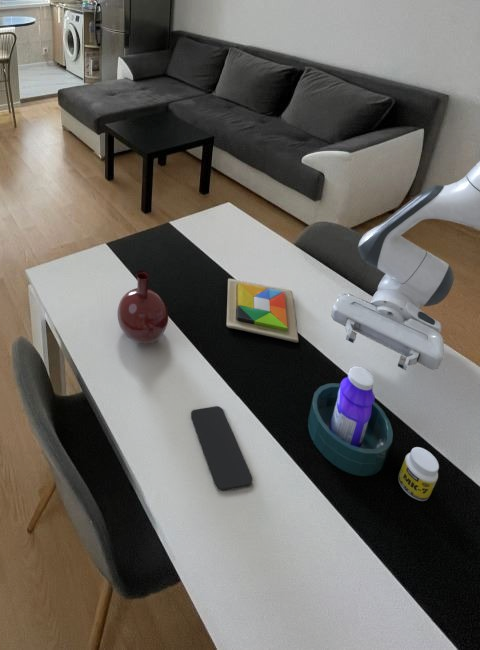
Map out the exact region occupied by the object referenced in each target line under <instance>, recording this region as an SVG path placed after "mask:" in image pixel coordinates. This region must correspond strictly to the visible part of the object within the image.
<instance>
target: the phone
mask: <svg viewBox="0 0 480 650" xmlns="http://www.w3.org/2000/svg"><path fill="white" fill-rule="evenodd" d="M226 415H227V414H226V413H225V411H224V409H223V408H222V407H221V406H218V405H215V406H209V407H203V408H197V409H193V410H191V412H190V418H191V421H193V422H192V424H193V427H194V430H195V433H196V435H198V436H197V438H198V442H199V443H200V447H201V446H202V447H201V449H203V450H202V452H203V455H204V458H205V460H206V463H207V466H208V469H209V472H210V474H211V477H212V480H213V483H214V486H215V487H216V488H217V490H218V491H221V492H224V491H229V490H236V489H242V488H247V487H250V486H252V484H253V476H252V473H251V471H250V469H249V466H248V464H247V461H246V459H245V457H244V455H243V453H242V449H241V447H240V445H239V443H238V441H237V438H236V436H235V434H234V432H233V429H232V427H231V425H230V422H229V420H228V418H227V416H226Z"/></svg>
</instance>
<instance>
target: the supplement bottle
mask: <svg viewBox="0 0 480 650" xmlns="http://www.w3.org/2000/svg"><path fill="white" fill-rule="evenodd" d="M439 469H440V464H439V461H438V460H437V458H436V457H435V456H434V454H432V453H431V452H430V451H429V450H427V449H425V448H424V447H419V446H416V447H415V446H414V447H413V448H412V449H411V450H410V452H408V453H407V454H406V455H405V457H404V460H403V462H402V465H401V468H400V470H399V472H398V476H397V478H398V479H397V480H398V483H399V485H400V487H401V489H402V490H403V491H404V492H405V493H406V494H407V495H408V496H409V497H411V498H412V499H415V500H417V501H420V502H424V501H425V502H426V501H427V500H428V499H429V498H430V497H431V494H432V492H433V490H434V488H435V486H436V484H437V481H438V479H439Z"/></svg>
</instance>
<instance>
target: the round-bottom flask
mask: <svg viewBox="0 0 480 650" xmlns="http://www.w3.org/2000/svg"><path fill="white" fill-rule="evenodd" d="M149 277H150V273H149V272H148V271H147V270H142V269H141V270H138V271H137V272H136V279H137V281H136V282H137V283H136V284H137V287H135V288H132V289H130V290H129V291H127V292H126V293H125V294H123V296H122V297H121V299H120V300H119V303H118V306H117V312H116V313H117V321H118V324H119V327H120V329H121V331H122V332H123V334H124V335H125V336H126V337H127V338H129V339H130V340H131V341H133V342H136V343H138V344H150V343H154V342H155V341H157V340H159V339H160V338H162V337H161V336H163V335H164V333H165V331H166V330H167V326H168V324H169V311H168V307H167V305H166V302H165V301H164V299H163V298H162V297H161V296H160V294H159V293H157V292H156V291H154V290H152V289H150V288H149Z"/></svg>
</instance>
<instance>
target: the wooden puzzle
mask: <svg viewBox="0 0 480 650" xmlns="http://www.w3.org/2000/svg"><path fill="white" fill-rule="evenodd" d="M226 299H227V300H226V301H227V303H226V327H227V328H228V329H233V330H238V331H243V332H247V333H251V334H257V335H261V336H265V337H270V338H274V339H279V340H283V341H288V342H292V343H299V335H298V327H297V320H296V319H297V318H296V311H295V304H294V303H295V302H294V296H293V291H292V290H291V289H289V288H283V287H277V286H272V285H266V284H260V283H256V282H250V281H244V280H241V279H235V278H228V279H227V298H226Z"/></svg>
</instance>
